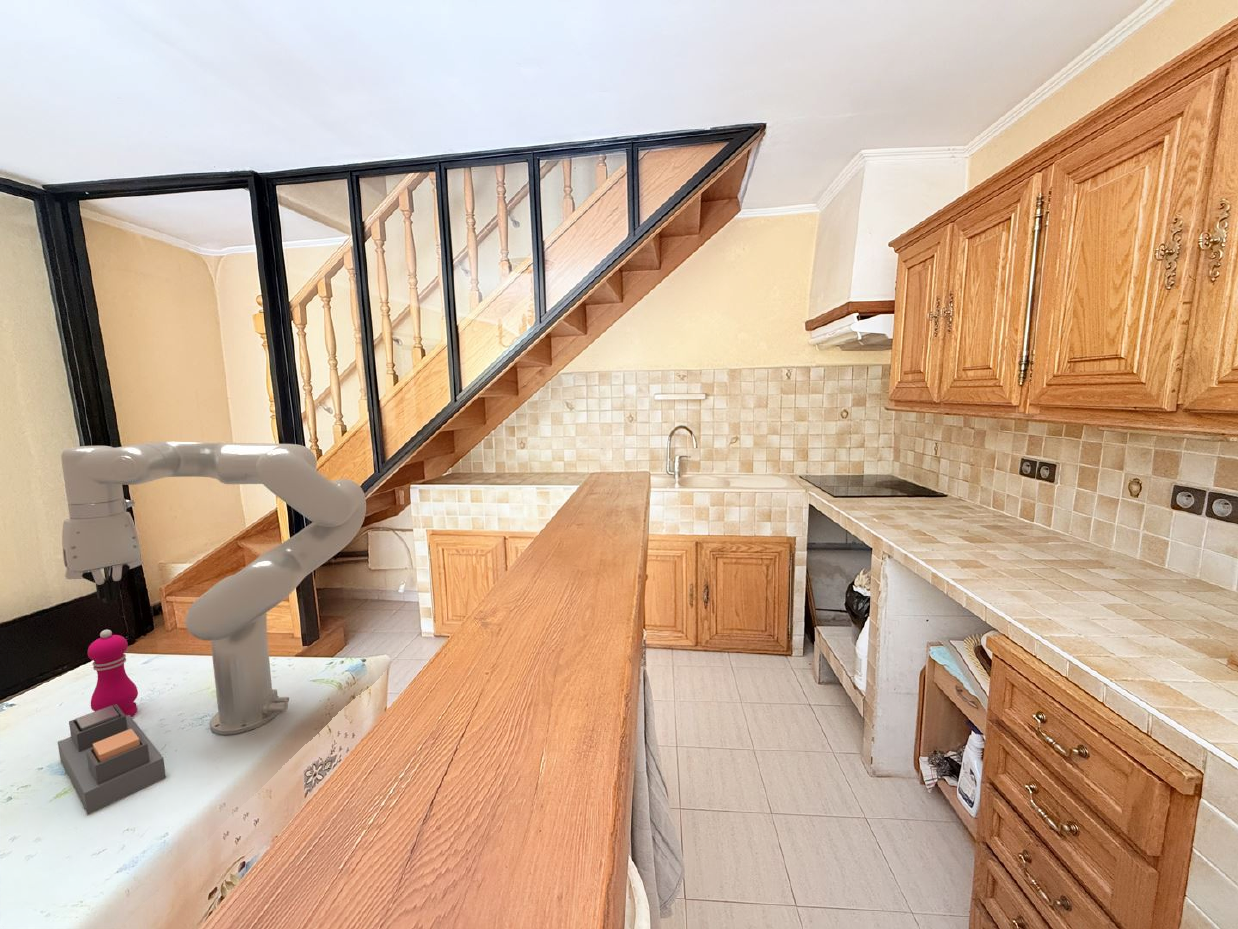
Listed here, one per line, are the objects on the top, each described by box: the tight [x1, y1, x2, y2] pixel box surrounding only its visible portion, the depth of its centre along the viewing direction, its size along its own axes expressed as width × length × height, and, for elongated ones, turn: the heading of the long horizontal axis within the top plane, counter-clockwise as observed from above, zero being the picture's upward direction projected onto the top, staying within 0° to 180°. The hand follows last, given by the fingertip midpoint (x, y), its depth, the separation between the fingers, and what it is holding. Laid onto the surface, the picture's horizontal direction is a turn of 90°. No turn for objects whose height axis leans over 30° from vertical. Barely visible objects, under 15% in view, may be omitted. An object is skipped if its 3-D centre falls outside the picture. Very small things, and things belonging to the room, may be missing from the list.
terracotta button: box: [93, 729, 140, 763], centre depth 89 cm, size 5×5×3 cm
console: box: [57, 704, 167, 816], centre depth 93 cm, size 22×10×8 cm, turn 56°
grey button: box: [75, 706, 119, 732], centre depth 96 cm, size 5×5×3 cm
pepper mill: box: [87, 629, 139, 718], centre depth 107 cm, size 7×7×20 cm
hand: (109, 600), depth 99 cm, fingers closed
